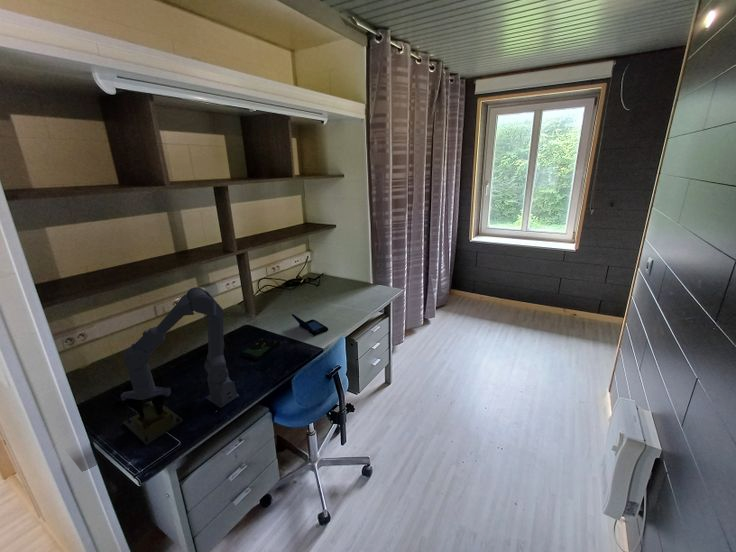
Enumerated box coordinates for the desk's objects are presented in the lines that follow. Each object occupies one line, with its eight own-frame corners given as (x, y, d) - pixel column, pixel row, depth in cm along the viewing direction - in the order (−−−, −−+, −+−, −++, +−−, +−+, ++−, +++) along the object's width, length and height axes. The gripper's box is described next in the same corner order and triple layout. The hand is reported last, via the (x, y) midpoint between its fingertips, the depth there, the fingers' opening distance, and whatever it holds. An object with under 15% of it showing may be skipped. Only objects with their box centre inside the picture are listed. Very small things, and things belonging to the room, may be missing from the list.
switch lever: (165, 416, 116) (160, 399, 114) (156, 426, 112) (151, 408, 109) (152, 415, 116) (148, 398, 114) (143, 425, 112) (138, 407, 110)
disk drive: (263, 341, 166) (242, 356, 153) (262, 336, 165) (241, 351, 152) (280, 345, 163) (260, 361, 150) (279, 340, 162) (259, 356, 149)
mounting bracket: (183, 421, 115) (181, 413, 114) (146, 445, 106) (143, 436, 105) (159, 403, 124) (157, 396, 123) (123, 424, 114) (121, 416, 113)
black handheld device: (329, 331, 175) (328, 315, 172) (307, 339, 167) (306, 323, 164) (313, 320, 186) (312, 305, 183) (292, 328, 178) (290, 313, 175)
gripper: (171, 371, 113) (179, 403, 118) (125, 375, 111) (135, 407, 116) (161, 384, 106) (170, 418, 111) (112, 389, 105) (124, 423, 109)
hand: (152, 413), depth 113 cm, fingers open, 5 cm apart
